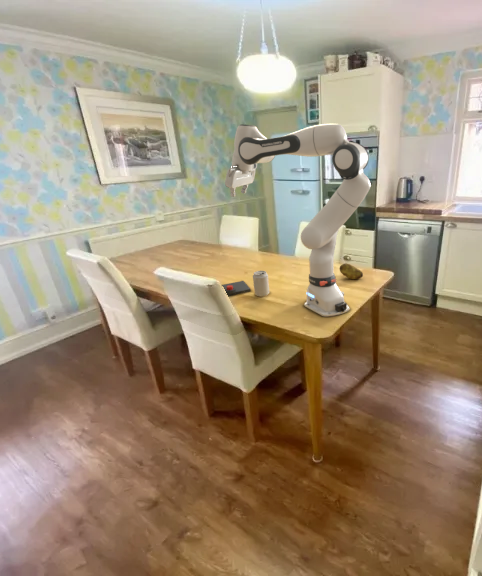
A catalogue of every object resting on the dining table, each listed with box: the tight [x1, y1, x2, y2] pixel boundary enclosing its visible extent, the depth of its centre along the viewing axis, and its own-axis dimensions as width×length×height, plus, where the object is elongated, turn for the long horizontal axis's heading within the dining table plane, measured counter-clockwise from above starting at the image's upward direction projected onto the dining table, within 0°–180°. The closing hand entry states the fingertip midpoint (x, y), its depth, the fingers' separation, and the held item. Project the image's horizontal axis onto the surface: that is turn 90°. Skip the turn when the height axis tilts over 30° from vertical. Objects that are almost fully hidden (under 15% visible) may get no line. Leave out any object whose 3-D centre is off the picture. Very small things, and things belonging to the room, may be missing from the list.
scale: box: [221, 280, 251, 297], centre depth 169 cm, size 15×13×3 cm
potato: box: [339, 263, 364, 280], centre depth 179 cm, size 8×13×8 cm, turn 50°
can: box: [252, 270, 270, 298], centre depth 160 cm, size 8×8×12 cm
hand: (238, 194), depth 147 cm, fingers open, 8 cm apart
